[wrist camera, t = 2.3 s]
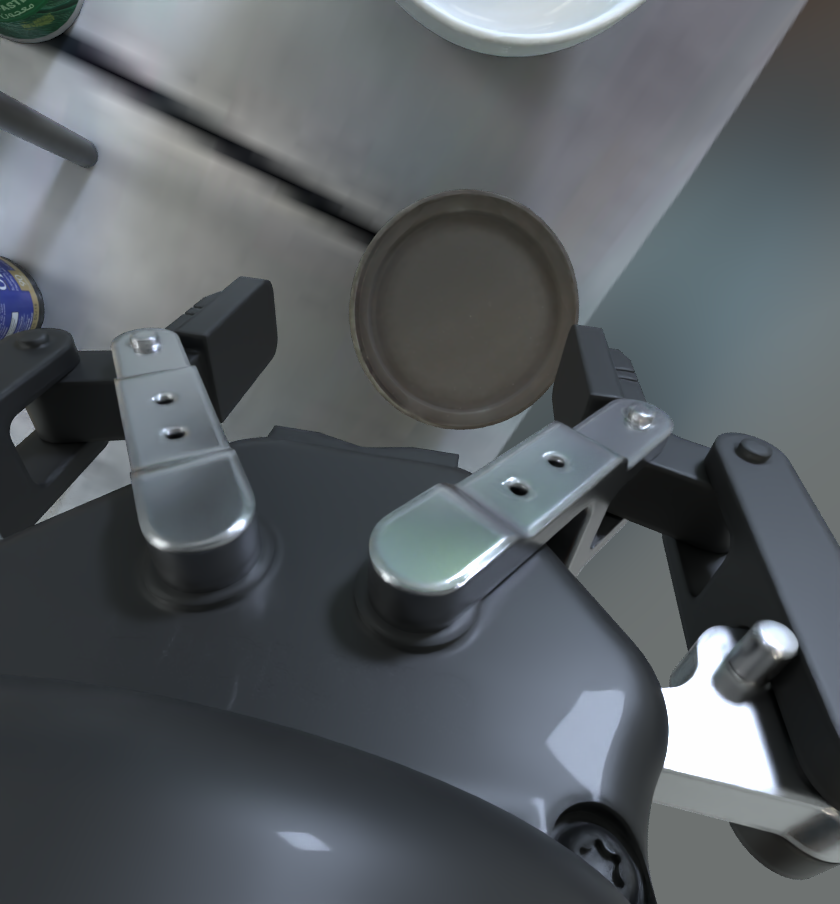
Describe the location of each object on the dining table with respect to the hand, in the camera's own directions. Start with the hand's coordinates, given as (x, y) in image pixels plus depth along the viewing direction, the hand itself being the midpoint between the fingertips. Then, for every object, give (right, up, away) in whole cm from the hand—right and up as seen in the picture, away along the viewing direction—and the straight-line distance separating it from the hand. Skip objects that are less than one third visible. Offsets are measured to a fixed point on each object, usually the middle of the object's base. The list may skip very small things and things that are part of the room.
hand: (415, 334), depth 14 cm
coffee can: (+1, +7, +22) cm, 23 cm away
